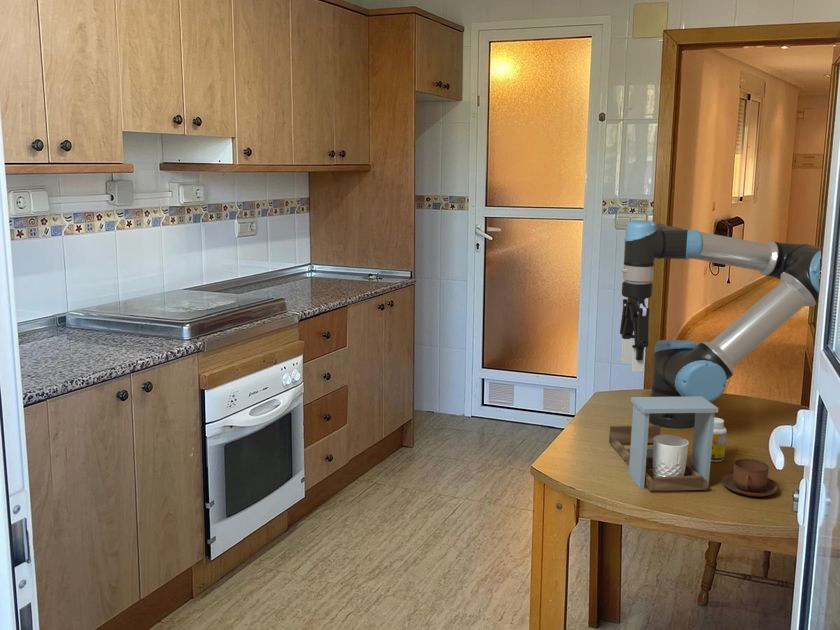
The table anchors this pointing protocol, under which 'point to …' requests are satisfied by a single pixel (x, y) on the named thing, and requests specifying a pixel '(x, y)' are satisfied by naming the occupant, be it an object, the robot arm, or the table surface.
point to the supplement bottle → (718, 440)
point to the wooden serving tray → (660, 482)
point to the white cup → (669, 455)
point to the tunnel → (671, 405)
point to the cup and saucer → (750, 478)
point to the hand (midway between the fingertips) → (631, 367)
